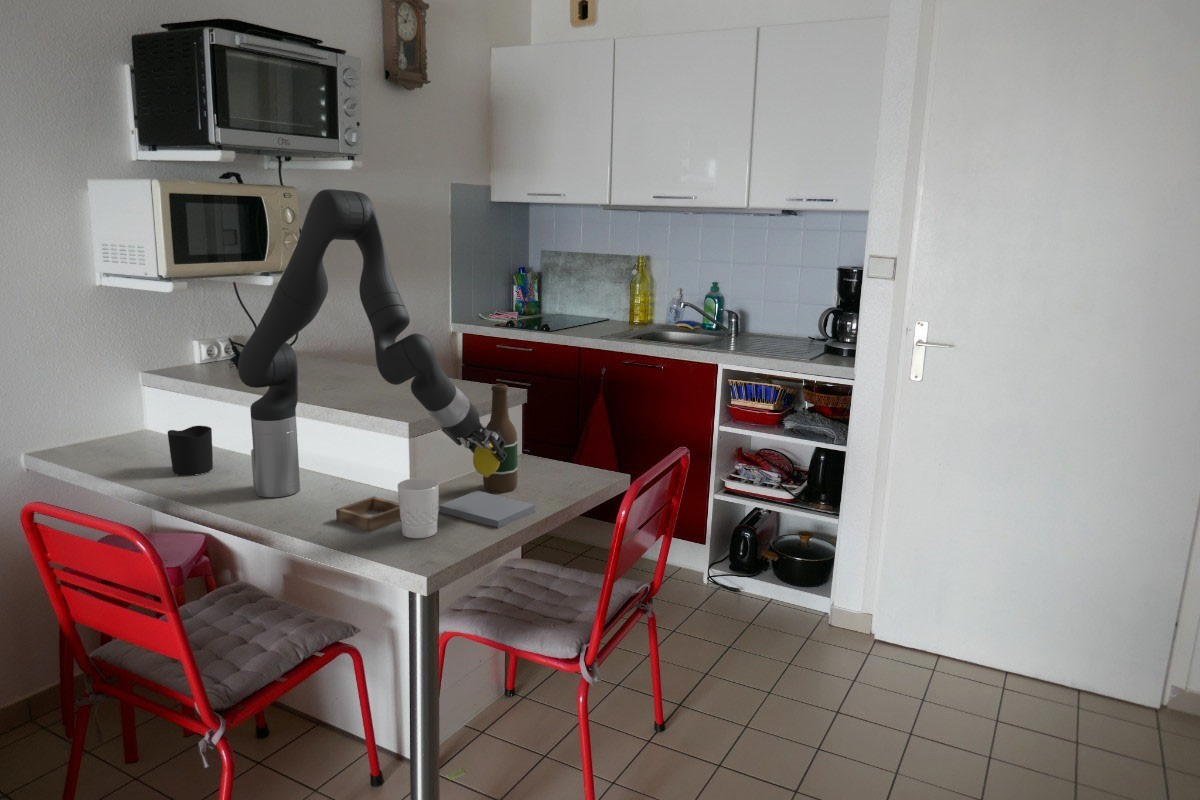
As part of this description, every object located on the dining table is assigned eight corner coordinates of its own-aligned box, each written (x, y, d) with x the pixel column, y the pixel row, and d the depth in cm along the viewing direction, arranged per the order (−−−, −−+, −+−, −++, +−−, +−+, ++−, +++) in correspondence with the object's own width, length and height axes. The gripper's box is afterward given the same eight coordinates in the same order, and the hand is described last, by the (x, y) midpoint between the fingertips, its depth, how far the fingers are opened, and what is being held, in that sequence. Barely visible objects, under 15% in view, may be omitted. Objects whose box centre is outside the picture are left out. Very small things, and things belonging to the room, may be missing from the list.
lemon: (473, 473, 185) (473, 437, 184) (499, 473, 186) (499, 436, 184) (472, 481, 180) (472, 443, 178) (499, 481, 181) (499, 443, 179)
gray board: (439, 512, 184) (439, 505, 184) (477, 497, 194) (477, 490, 194) (498, 528, 176) (498, 520, 175) (534, 511, 185) (535, 504, 185)
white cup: (442, 525, 177) (441, 477, 174) (436, 540, 169) (435, 490, 167) (403, 525, 176) (401, 477, 174) (395, 540, 169) (393, 490, 166)
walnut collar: (336, 520, 178) (336, 509, 178) (374, 507, 186) (373, 496, 186) (371, 531, 173) (370, 519, 172) (408, 517, 181) (407, 505, 180)
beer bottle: (484, 494, 196) (483, 388, 191) (482, 483, 204) (480, 381, 198) (519, 492, 198) (519, 387, 192) (515, 482, 205) (515, 381, 200)
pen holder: (207, 476, 205) (204, 435, 203) (165, 477, 204) (161, 435, 202) (219, 465, 214) (216, 425, 212) (179, 465, 213) (175, 425, 211)
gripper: (488, 399, 169) (527, 446, 182) (433, 390, 177) (474, 436, 189) (471, 431, 166) (511, 477, 178) (415, 420, 174) (458, 465, 186)
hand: (492, 455), depth 184 cm, fingers closed on lemon, 5 cm apart
